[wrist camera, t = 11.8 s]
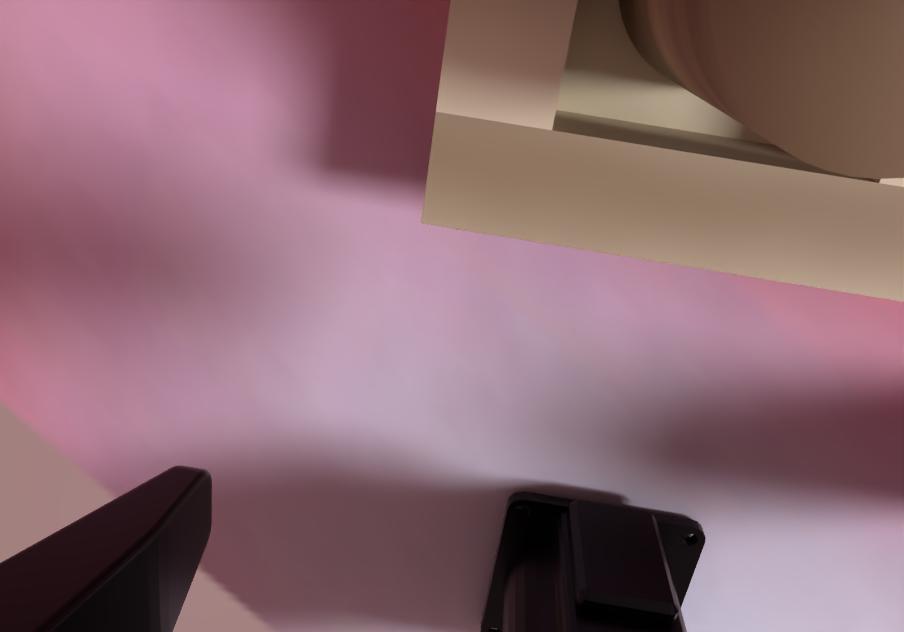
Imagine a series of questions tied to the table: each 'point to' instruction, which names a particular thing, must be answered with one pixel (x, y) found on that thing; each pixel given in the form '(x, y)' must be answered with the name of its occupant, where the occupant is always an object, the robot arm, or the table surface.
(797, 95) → the peg
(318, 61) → the table surface
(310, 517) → the table surface
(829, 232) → the socket block
